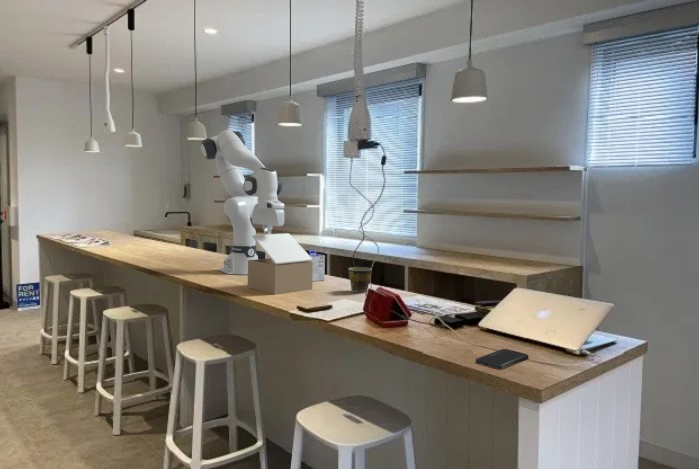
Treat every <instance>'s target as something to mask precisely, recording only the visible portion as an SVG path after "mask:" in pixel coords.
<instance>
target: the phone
mask: <svg viewBox="0 0 699 469" xmlns="http://www.w3.org/2000/svg"><path fill="white" fill-rule="evenodd" d="M528 359H529V354H528V353H525V352H524V353H523V352H520V351H516V350H512V349H507V348H502V349H499V350H497V351H496V350H495V351H494V352H491V353H488V354H486V355H482V356H479V357H477V358H476V359H475V363H476V362H477V363H476V364H480V365H482V364H483V365H482V366H486V367H489V366H490V368H493V369H497V370H503V369H506V368H509V367H510V366H513V365H516V364H519V363H521V362H523V361H525V360H528ZM508 366H509V367H508Z"/></svg>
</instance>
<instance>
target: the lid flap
mask: <svg viewBox="0 0 699 469" xmlns="http://www.w3.org/2000/svg"><path fill="white" fill-rule="evenodd" d="M252 237H253V239H254V240H255V241H256V244H258V245H259V247H260V248H261V249H262V250H263V252H265V254H266V255H267V256H268V258H271V260H272V261H273V262H274V263H275V264H285V263H295V262H306V261H312V260H313V259H312V258H311V257H310V256H309V255H310V254H309V252H307V251H306V250H305V249H304V248H303V247H302V246H301V245H300V244H299V242H298V241H297V240H295V238H294V237H293V236H292V235H291V234H290V233H271V234H267V235H264V234H256V235H252Z"/></svg>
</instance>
